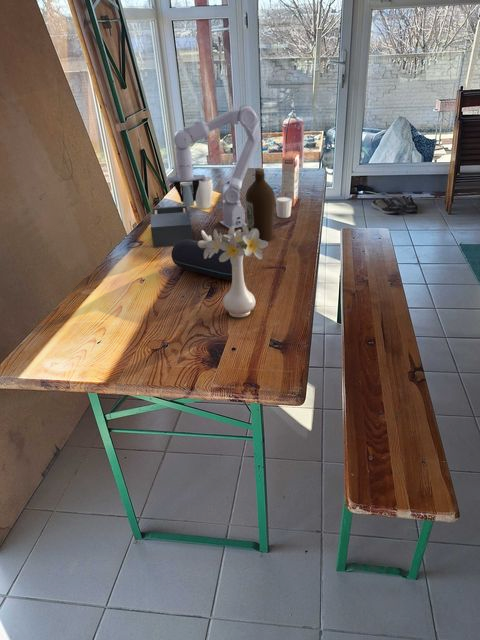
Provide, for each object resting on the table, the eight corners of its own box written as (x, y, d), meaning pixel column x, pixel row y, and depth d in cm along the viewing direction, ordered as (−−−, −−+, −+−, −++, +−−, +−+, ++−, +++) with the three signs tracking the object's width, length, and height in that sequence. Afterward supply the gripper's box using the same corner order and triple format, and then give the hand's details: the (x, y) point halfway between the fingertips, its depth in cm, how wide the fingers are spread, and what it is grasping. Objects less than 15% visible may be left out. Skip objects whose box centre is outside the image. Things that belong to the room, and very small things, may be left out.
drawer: (154, 220, 204) (152, 206, 201) (187, 218, 206) (186, 204, 203) (154, 233, 192) (152, 218, 189) (189, 230, 194) (188, 216, 191)
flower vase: (211, 300, 147) (204, 217, 133) (272, 304, 144) (272, 220, 131) (199, 322, 137) (190, 235, 123) (265, 327, 134) (263, 238, 120)
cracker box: (294, 208, 218) (295, 158, 206) (280, 207, 219) (281, 157, 207) (298, 198, 229) (300, 151, 218) (286, 197, 230) (286, 150, 219)
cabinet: (153, 233, 194) (150, 214, 190) (190, 230, 196) (189, 211, 192) (153, 247, 182) (150, 227, 178) (193, 244, 184) (191, 224, 180)
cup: (213, 209, 218) (211, 181, 211) (192, 209, 218) (189, 182, 211) (215, 203, 225) (213, 176, 219) (195, 203, 225) (192, 176, 219)
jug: (182, 202, 198) (180, 182, 194) (193, 201, 199) (191, 181, 194) (183, 207, 193) (181, 186, 189) (194, 206, 194) (192, 185, 189)
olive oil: (269, 230, 195) (269, 164, 181) (278, 240, 186) (278, 171, 173) (243, 234, 192) (241, 167, 178) (251, 243, 184) (249, 174, 170)
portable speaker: (249, 275, 161) (249, 246, 155) (233, 287, 154) (231, 257, 148) (188, 260, 172) (185, 233, 166) (170, 271, 165) (166, 242, 159)
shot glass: (292, 213, 212) (292, 196, 208) (291, 218, 207) (291, 201, 203) (276, 212, 213) (276, 196, 209) (274, 218, 207) (274, 201, 203)
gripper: (203, 161, 192) (205, 196, 199) (165, 163, 190) (169, 199, 197) (204, 165, 186) (207, 201, 193) (165, 168, 184) (170, 204, 191)
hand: (188, 200), depth 195 cm, fingers closed on jug, 4 cm apart
